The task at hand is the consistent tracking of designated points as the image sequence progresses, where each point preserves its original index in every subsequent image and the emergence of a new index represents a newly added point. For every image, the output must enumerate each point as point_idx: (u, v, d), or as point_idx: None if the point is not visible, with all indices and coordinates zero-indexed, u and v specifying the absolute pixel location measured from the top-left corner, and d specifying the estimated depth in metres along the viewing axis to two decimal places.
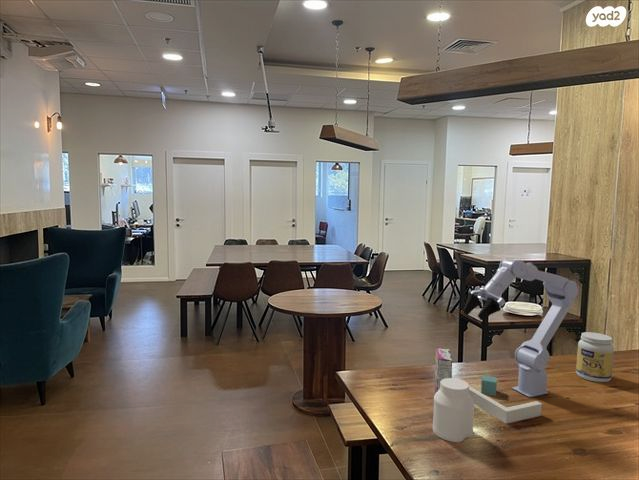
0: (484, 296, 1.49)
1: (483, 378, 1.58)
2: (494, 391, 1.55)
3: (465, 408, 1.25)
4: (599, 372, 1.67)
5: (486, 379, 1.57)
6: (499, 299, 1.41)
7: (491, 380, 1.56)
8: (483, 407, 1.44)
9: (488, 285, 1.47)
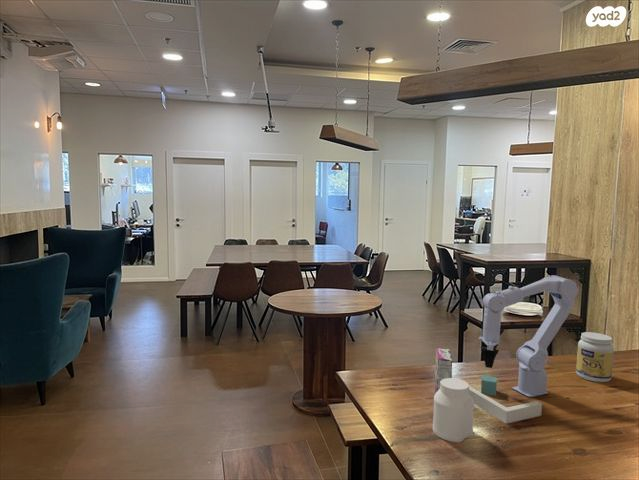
0: None
1: (483, 378, 1.58)
2: (494, 391, 1.55)
3: (465, 408, 1.25)
4: (599, 372, 1.67)
5: (486, 379, 1.57)
6: (487, 346, 1.51)
7: (490, 380, 1.56)
8: (483, 407, 1.44)
9: None
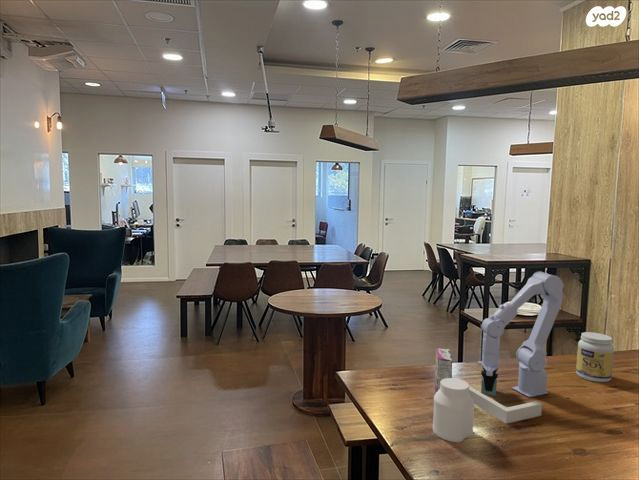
0: None
1: None
2: (494, 391, 1.55)
3: (465, 408, 1.25)
4: (599, 372, 1.67)
5: None
6: (486, 371, 1.51)
7: None
8: (483, 407, 1.44)
9: (482, 356, 1.58)
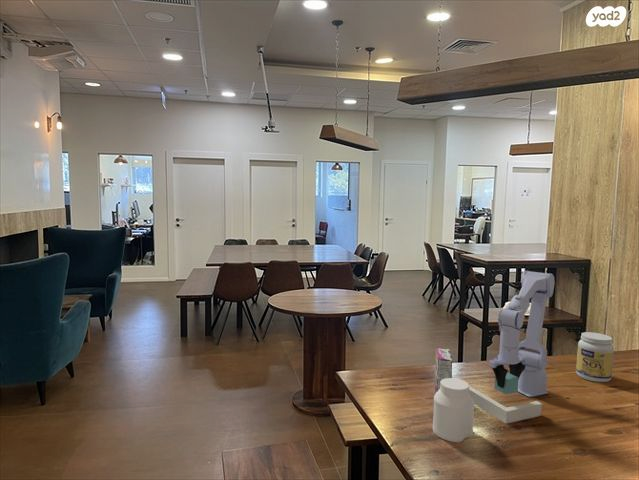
0: None
1: None
2: (504, 389, 1.41)
3: (465, 408, 1.25)
4: (599, 372, 1.67)
5: None
6: None
7: None
8: (483, 407, 1.44)
9: None
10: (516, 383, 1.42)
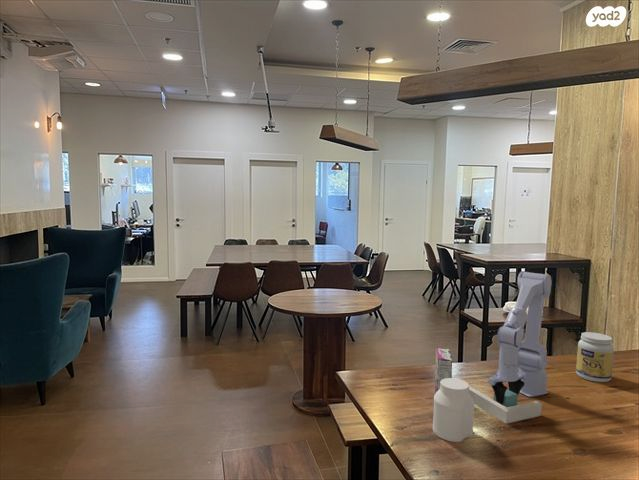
0: None
1: None
2: None
3: (465, 408, 1.25)
4: (599, 372, 1.67)
5: None
6: None
7: None
8: (483, 407, 1.44)
9: None
10: (515, 400, 1.42)
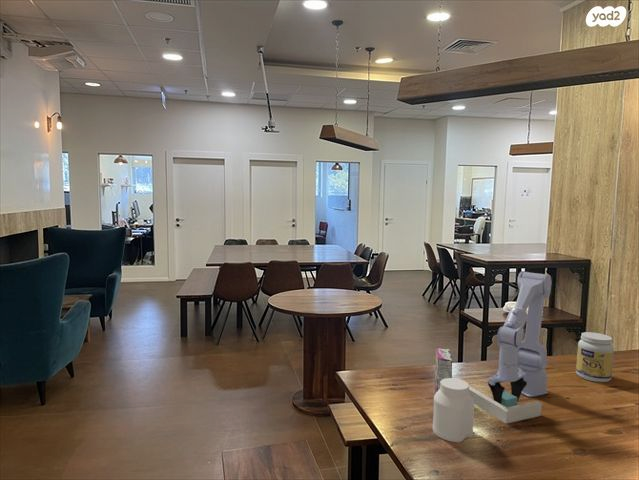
0: None
1: None
2: None
3: (465, 408, 1.25)
4: (599, 372, 1.67)
5: None
6: None
7: (504, 396, 1.43)
8: (483, 407, 1.44)
9: None
10: (515, 403, 1.42)
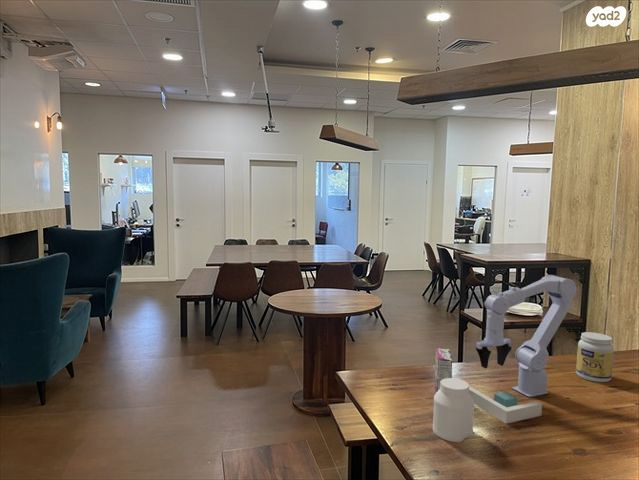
0: None
1: (499, 393, 1.46)
2: None
3: (465, 408, 1.25)
4: (599, 372, 1.67)
5: (501, 394, 1.44)
6: None
7: (504, 396, 1.43)
8: (483, 407, 1.44)
9: None
10: (515, 403, 1.42)
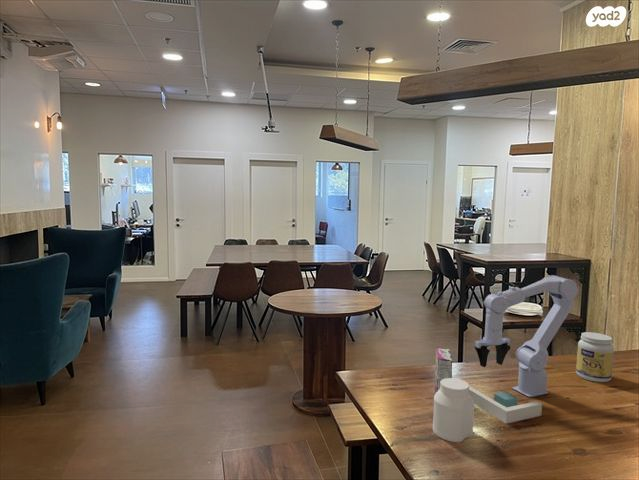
0: None
1: (499, 393, 1.46)
2: None
3: (465, 408, 1.25)
4: (599, 372, 1.67)
5: (501, 394, 1.44)
6: None
7: (504, 396, 1.43)
8: (483, 407, 1.44)
9: None
10: (515, 403, 1.42)
